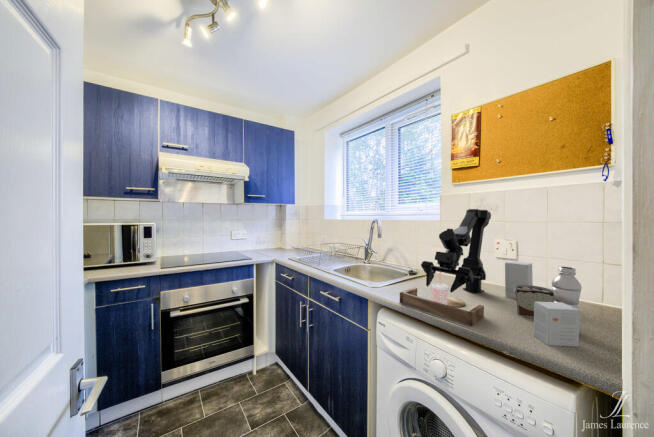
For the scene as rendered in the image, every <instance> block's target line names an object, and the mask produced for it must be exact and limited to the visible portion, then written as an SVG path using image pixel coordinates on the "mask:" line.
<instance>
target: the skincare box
mask: <svg viewBox="0 0 654 437" xmlns="http://www.w3.org/2000/svg"><path fill="white" fill-rule="evenodd" d="M533 281H534V280H533V263H531V262H525V261H523V262H522V261H516V260H508V261H506V262H504V282H505V283H504V284H505V285H504V286H505V290H504V291H505V292H504V293H505V296H504V297H505V298H509V299H514V300H516V292H515V293H514V292H513V291H514V288H515V286H516V285H533V286H534V283H533Z"/></svg>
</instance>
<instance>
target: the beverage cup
mask: <svg viewBox="0 0 654 437" xmlns="http://www.w3.org/2000/svg"><path fill="white" fill-rule="evenodd" d="M430 284H431V287H432V288H431V289H432V301H435V302H438V303H442V304H445V305H447V297H448V294H449V288H450V286H449V285H448V284H446V283H442V272H439V282H433V283H430Z"/></svg>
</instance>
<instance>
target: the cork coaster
mask: <svg viewBox="0 0 654 437" xmlns="http://www.w3.org/2000/svg"><path fill="white" fill-rule="evenodd" d="M447 305H448V306H452V307H455V308H463V307H465V306H466V302H465V301H464V300H462V299H460V298H457V297H452V296H447Z"/></svg>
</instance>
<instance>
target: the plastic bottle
mask: <svg viewBox="0 0 654 437" xmlns="http://www.w3.org/2000/svg"><path fill="white" fill-rule="evenodd" d="M557 270H558V271H557V273H558V275H557V276H555V277H554V278H553V279H552V282H551V287H552V288H551V289H552V290H553V294H554V302H562V303H565V304H567V305H569V306H572V307H574V308H576V309H578V310H579V311H580V309H579V303H580V297H581V292H582V284H581V283H580V281H579V280H578V279H577V277H575V276H576V275H577V272H576V268H575V267H572V266H571V267H570V266H558V269H557ZM581 330H582V322H581V320H580V318H579V333H581Z"/></svg>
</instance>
